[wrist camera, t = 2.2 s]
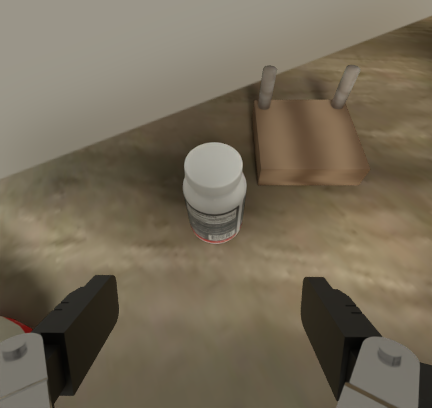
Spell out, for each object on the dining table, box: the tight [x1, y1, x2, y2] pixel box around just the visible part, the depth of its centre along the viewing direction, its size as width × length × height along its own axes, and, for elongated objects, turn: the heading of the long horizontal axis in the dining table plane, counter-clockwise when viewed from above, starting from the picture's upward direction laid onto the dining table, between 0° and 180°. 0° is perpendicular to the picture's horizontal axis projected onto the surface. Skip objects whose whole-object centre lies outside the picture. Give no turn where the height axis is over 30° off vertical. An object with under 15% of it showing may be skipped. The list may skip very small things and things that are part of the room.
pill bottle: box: [183, 142, 247, 244], centre depth 25 cm, size 6×6×10 cm
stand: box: [252, 65, 370, 185], centre depth 31 cm, size 12×12×8 cm
